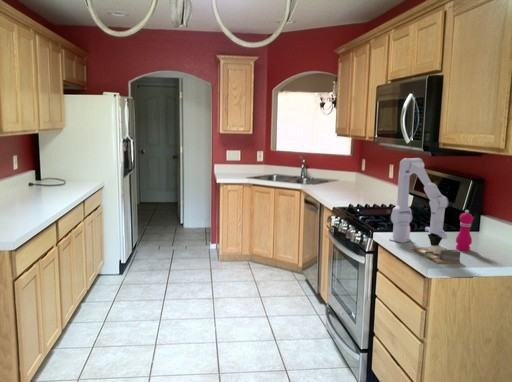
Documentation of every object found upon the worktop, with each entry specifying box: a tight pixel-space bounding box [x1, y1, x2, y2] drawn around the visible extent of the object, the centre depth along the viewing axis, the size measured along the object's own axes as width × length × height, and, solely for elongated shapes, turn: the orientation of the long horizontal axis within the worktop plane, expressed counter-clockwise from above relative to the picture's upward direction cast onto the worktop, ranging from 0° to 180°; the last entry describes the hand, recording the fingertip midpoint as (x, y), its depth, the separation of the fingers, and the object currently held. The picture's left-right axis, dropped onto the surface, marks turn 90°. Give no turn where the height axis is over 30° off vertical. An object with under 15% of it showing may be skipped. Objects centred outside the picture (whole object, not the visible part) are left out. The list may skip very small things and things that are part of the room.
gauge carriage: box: [425, 244, 448, 254], centre depth 209 cm, size 4×10×3 cm, turn 102°
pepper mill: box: [455, 209, 474, 252], centre depth 220 cm, size 7×7×20 cm
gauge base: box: [411, 246, 461, 264], centre depth 209 cm, size 21×12×5 cm, turn 12°
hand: (434, 249), depth 213 cm, fingers closed
